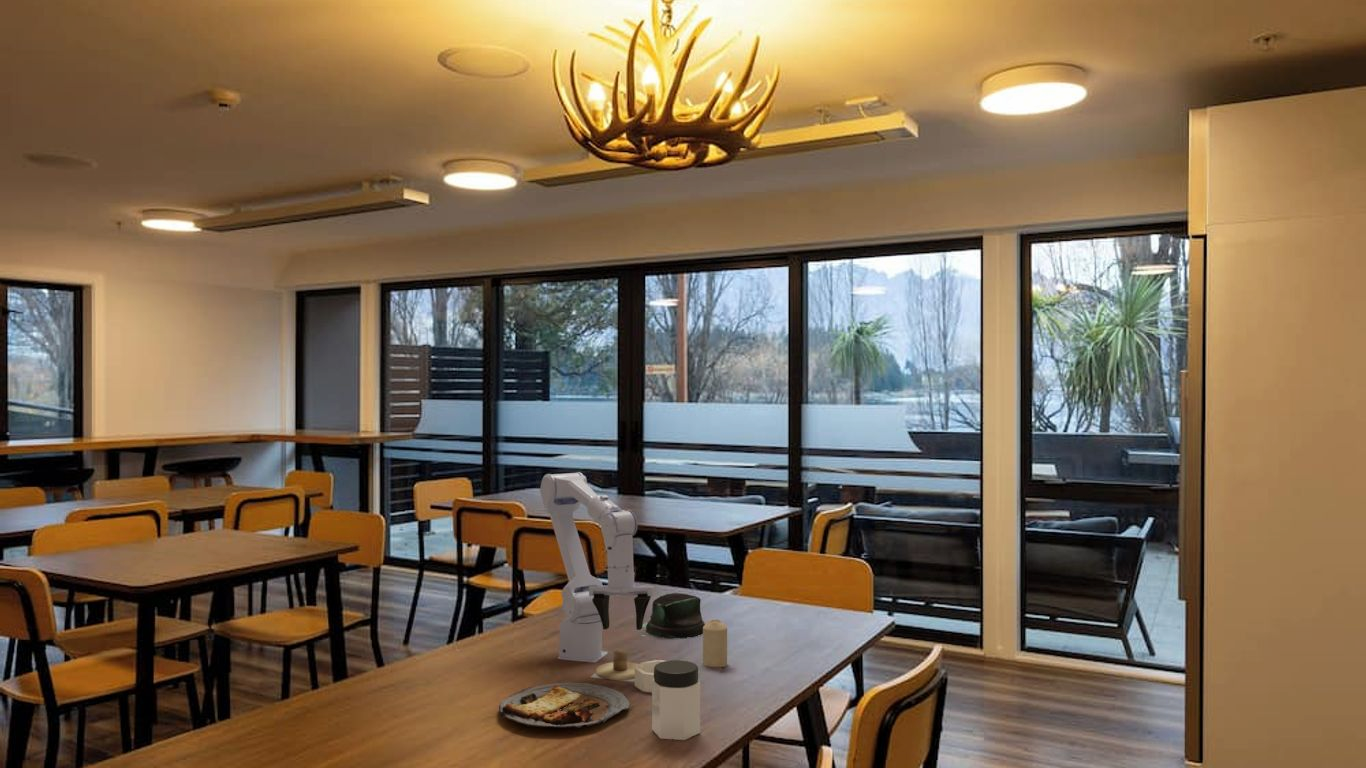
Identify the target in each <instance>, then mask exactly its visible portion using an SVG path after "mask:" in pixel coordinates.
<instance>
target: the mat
mask: <svg viewBox="0 0 1366 768" xmlns="http://www.w3.org/2000/svg"><path fill="white" fill-rule="evenodd" d="M590 678H592V679H593V678H594V679H603V680H605V679H604V678H601V677H599V676H598V675H597V674H596V672H595V673H593V674H592V675H591V676H590ZM618 681H620V682H621V681H622V682H627V683H628V682H630V683H635V678H633V679H628V680H618Z"/></svg>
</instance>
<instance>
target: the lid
mask: <svg viewBox="0 0 1366 768" xmlns="http://www.w3.org/2000/svg"><path fill="white" fill-rule="evenodd" d="M612 651H613V652H612V654H613V659H612V660H613V661H611V662H607V663H603V664H600V665H598V666H597V668H595V669H596V671H595V673H596V674H597V675H598V676H599V677H601V678H604V679H603V680H609V681H619V680H628V679H633V678H635V667H636V666H638V665H639V664H640V663H636V662H631V661H628V650H627V649H625V648H616V649H613V650H612Z"/></svg>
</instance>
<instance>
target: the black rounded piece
mask: <svg viewBox="0 0 1366 768" xmlns="http://www.w3.org/2000/svg"><path fill="white" fill-rule="evenodd" d="M651 604H652V607H651V614H650V616H649V617H650V620H649V621H648V622H645V623H643V626H642V627H644V628H645V629H646V630H645V633H646V632H647V633H646V634H647V635H650V634H651V635H650V636H652V635H653V637H656V636H657V637H658V638H662V637H664V638H663V639H673V638H680V639H681V638H682V639H688V638H687V637H691V638H695V637H694V636H697V637H699V636H698V635H700V636H702V635H701V634H703V627H704V625H705V624H706V623H705V621H704V620H703V618H702V613H701V598H700V597H698V596H696V595H692V594H688V593H680V592H679V593H678V592H671V593H666V594H663V595H659V596H658V597H656V598H655V599H654V600H653V602H652V603H651ZM640 636H642V637H646V635H645V634H640Z"/></svg>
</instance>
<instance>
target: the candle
mask: <svg viewBox="0 0 1366 768" xmlns="http://www.w3.org/2000/svg"><path fill="white" fill-rule="evenodd" d="M702 664H703V666H705V667H711V668H720V667H721V668H722V667H723V668H725V667H727V666H728V626H726V624H725V623H723V622H722V621H721V620H720V619H711V620H707V622H706V623H705V625H704V627H703V635H702Z"/></svg>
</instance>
